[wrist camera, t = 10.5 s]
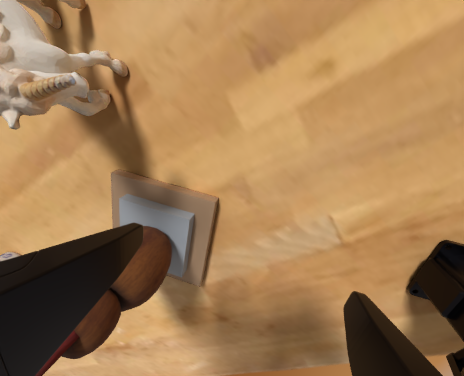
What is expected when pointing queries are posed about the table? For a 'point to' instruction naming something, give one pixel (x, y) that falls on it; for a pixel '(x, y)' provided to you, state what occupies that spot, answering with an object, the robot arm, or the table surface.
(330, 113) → the table surface
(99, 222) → the table surface
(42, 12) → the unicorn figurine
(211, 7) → the table surface
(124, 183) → the plinth
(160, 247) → the wooden figurine
